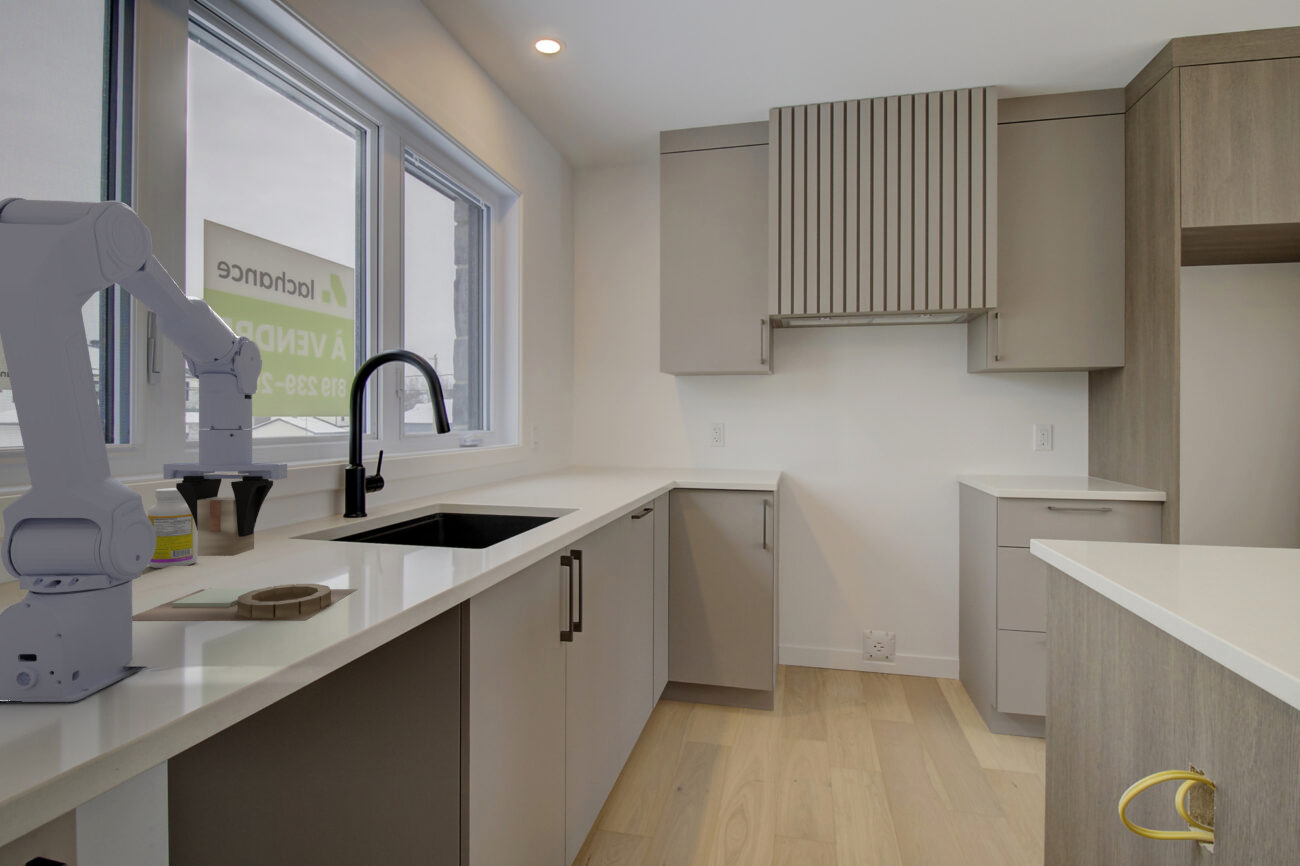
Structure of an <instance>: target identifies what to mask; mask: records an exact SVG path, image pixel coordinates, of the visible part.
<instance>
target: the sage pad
mask: <svg viewBox="0 0 1300 866" xmlns="http://www.w3.org/2000/svg"><path fill="white" fill-rule="evenodd" d="M258 589H262V588H261V587H260V588H256V587H255V588H254V587H253V588H250V587H249V588H247V587H246V588H241V587H240V588H238V587H236V588H235V587H234V588H229V587H228V588H208V589H207V590H204V591H202V592H199V593H197V594H194V595H191V596H189V597H186V598H184V599H181V600H179V601H176V602H173V603H172V607H231V606H233V605H235V604H237V603H238V597H239V596H241V595H243V594H245V593H247V592H250V591H253V590H258Z"/></svg>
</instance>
